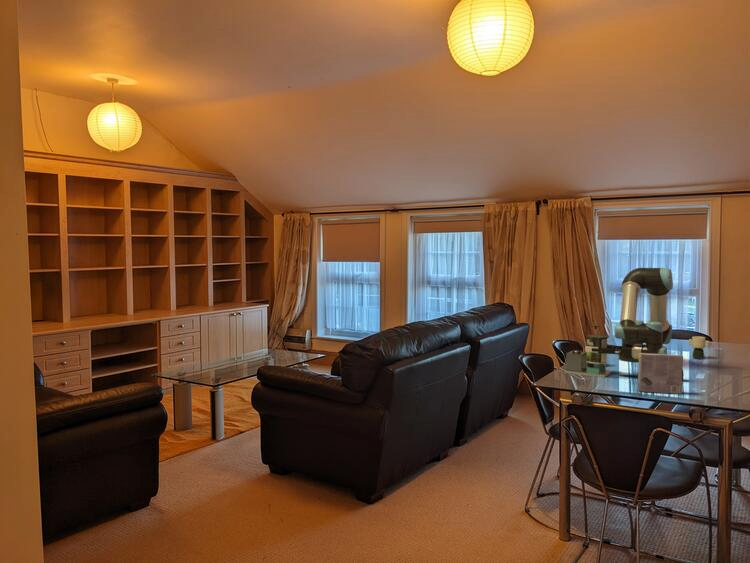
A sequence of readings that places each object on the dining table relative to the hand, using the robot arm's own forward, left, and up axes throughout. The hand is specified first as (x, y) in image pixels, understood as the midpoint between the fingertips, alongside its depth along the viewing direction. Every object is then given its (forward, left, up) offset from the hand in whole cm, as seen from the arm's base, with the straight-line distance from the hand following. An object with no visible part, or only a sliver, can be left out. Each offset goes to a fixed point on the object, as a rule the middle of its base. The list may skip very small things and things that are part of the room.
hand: (588, 347), depth 314 cm
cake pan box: (+25, +39, -14) cm, 49 cm away
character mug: (-79, +43, -14) cm, 91 cm away
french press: (-20, -2, -14) cm, 25 cm away
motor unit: (0, 0, -14) cm, 14 cm away
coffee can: (0, +4, -8) cm, 9 cm away
